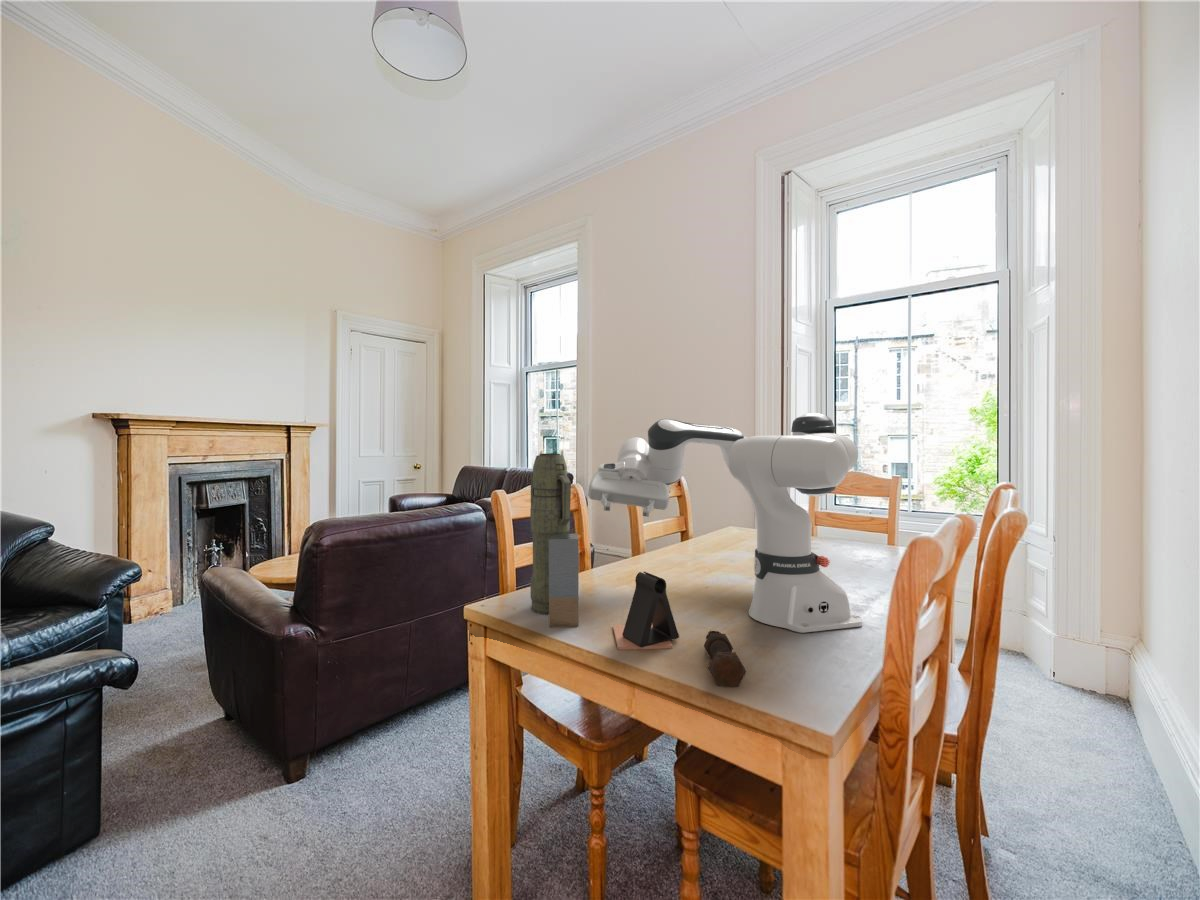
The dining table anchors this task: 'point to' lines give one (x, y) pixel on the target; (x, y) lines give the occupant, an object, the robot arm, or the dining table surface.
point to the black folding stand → (650, 613)
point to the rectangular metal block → (563, 580)
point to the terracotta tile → (627, 644)
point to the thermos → (547, 520)
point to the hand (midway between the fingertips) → (626, 511)
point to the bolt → (723, 660)
